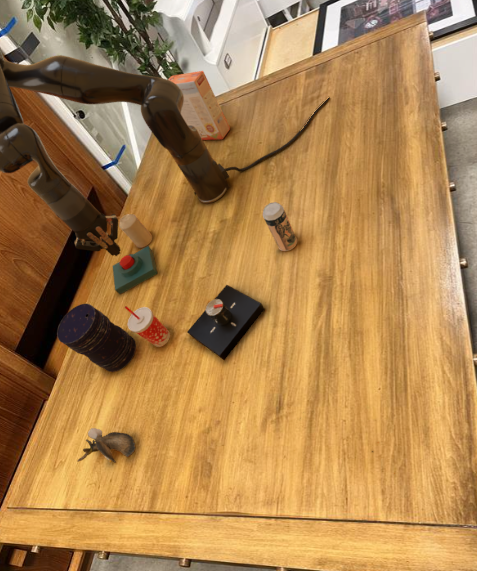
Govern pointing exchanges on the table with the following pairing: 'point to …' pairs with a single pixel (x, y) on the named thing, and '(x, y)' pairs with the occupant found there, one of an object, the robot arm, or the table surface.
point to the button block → (135, 270)
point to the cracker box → (201, 106)
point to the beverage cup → (148, 326)
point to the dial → (218, 312)
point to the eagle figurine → (109, 444)
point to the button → (127, 262)
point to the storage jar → (96, 338)
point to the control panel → (230, 334)
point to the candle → (135, 230)
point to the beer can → (279, 226)
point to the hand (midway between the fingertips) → (117, 253)
